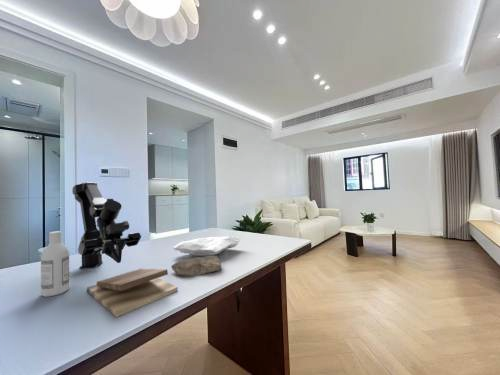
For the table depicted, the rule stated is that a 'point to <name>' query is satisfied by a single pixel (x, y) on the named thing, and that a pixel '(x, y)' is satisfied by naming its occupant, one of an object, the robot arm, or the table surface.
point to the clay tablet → (197, 266)
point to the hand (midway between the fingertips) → (119, 262)
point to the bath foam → (54, 267)
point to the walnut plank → (131, 278)
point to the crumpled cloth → (207, 245)
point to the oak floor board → (131, 295)
